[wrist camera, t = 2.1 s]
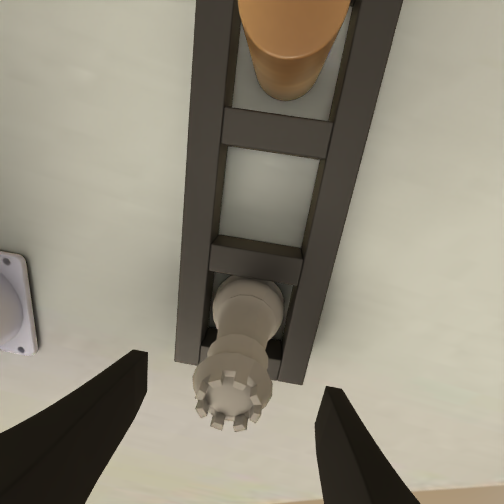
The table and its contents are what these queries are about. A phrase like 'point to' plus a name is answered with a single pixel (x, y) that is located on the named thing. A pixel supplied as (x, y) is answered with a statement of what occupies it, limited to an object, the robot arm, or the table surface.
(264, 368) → the rook chess piece
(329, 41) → the beech peg
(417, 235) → the table surface
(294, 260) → the holder
